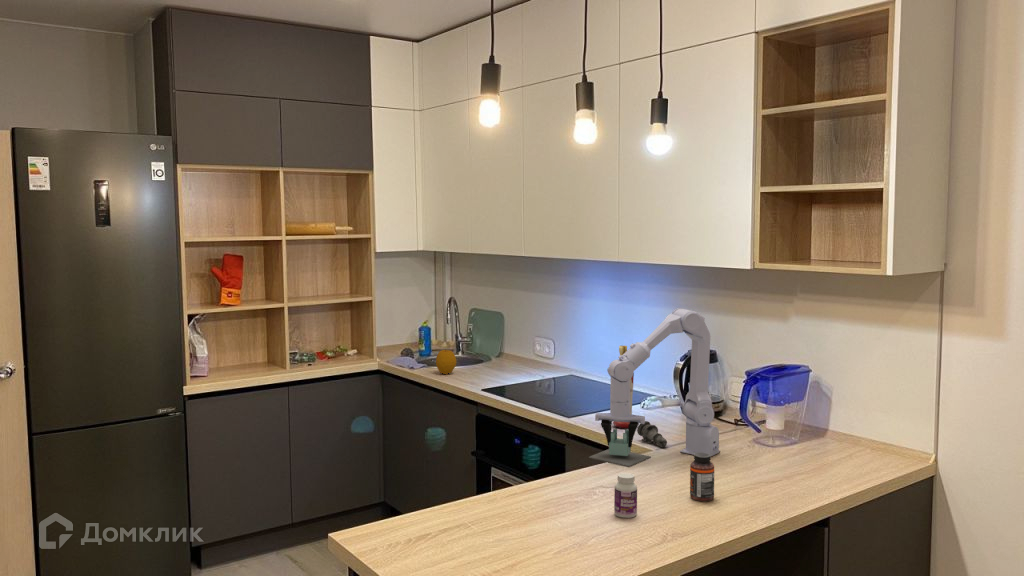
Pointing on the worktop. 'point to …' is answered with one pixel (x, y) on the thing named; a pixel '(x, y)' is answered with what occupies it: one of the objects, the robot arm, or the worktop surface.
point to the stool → (619, 444)
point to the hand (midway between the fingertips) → (619, 445)
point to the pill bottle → (625, 496)
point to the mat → (620, 458)
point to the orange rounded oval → (445, 361)
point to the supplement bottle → (702, 477)
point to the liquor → (625, 424)
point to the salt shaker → (651, 434)
